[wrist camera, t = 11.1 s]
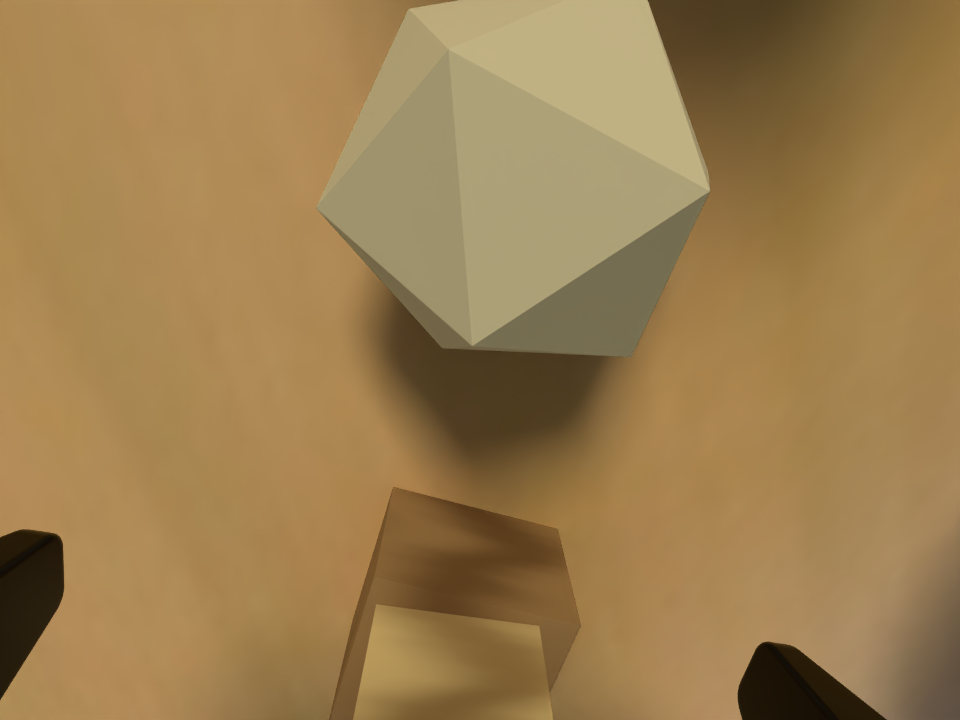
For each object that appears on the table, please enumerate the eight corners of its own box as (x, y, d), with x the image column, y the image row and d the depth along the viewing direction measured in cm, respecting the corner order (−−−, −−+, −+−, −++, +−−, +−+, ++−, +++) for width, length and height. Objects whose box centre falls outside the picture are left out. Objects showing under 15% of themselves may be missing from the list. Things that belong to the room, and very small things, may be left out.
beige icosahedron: (459, 362, 21) (721, 461, 13) (216, 245, 15) (441, 304, 8) (553, 149, 22) (855, 129, 14) (353, -46, 16) (691, -259, 8)
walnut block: (557, 526, 23) (581, 625, 18) (504, 651, 25) (513, 769, 20) (393, 485, 22) (374, 576, 17) (353, 618, 24) (326, 732, 19)
